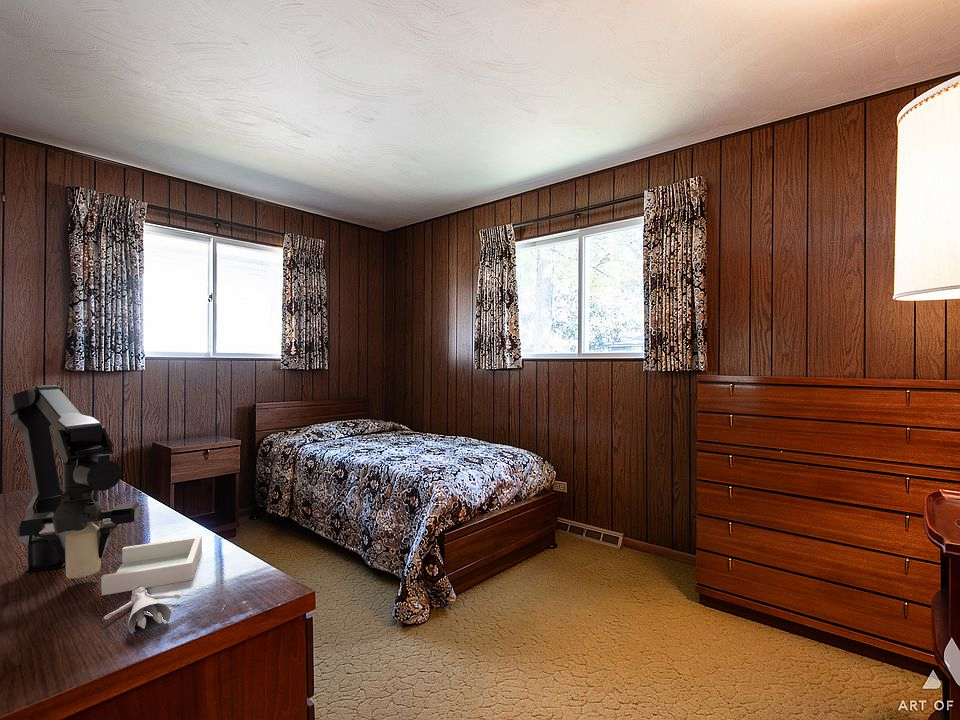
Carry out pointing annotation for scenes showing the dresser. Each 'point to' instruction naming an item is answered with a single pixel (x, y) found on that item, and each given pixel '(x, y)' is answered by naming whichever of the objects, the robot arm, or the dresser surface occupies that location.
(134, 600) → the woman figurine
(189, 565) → the box
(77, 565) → the candle
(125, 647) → the dresser surface
